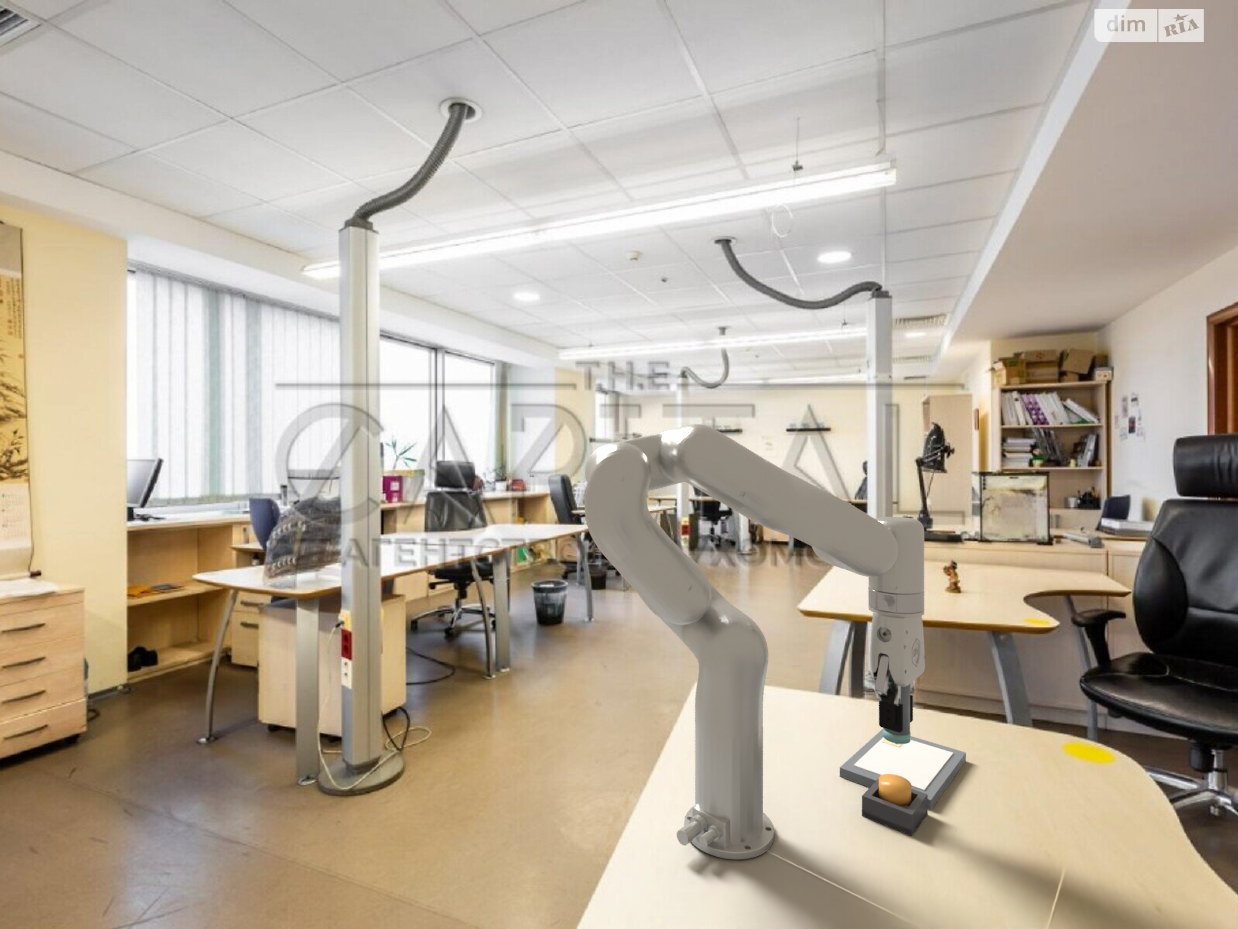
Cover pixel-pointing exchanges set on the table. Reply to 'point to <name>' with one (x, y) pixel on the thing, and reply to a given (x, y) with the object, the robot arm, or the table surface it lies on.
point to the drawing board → (906, 764)
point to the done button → (895, 789)
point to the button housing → (895, 810)
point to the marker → (905, 734)
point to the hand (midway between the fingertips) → (896, 723)
